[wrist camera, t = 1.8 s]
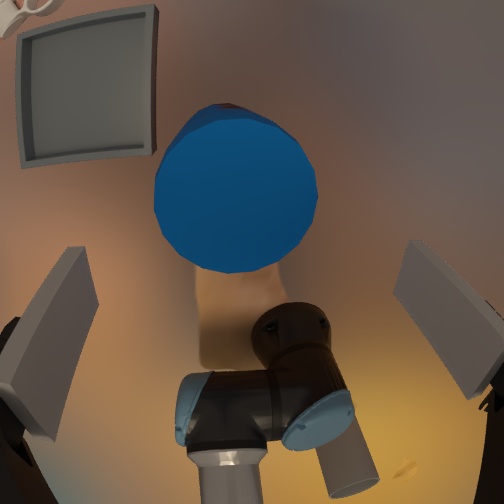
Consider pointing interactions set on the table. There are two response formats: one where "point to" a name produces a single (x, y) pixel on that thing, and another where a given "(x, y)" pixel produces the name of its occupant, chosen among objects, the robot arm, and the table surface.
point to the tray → (88, 87)
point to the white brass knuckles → (22, 14)
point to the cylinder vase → (347, 463)
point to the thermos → (234, 191)
